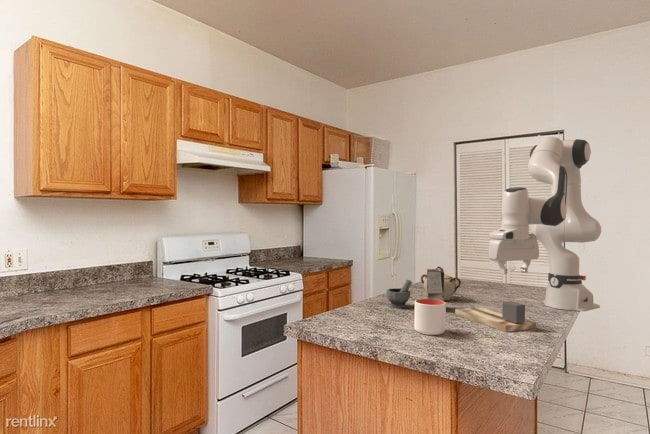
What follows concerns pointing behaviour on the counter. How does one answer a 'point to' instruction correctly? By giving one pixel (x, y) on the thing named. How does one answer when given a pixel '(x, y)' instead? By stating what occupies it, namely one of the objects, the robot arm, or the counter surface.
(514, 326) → the fader panel
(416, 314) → the cup
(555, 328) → the counter surface
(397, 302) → the mortar and pestle
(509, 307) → the fader
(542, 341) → the counter surface
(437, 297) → the coffee box
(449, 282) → the sugar bowl
